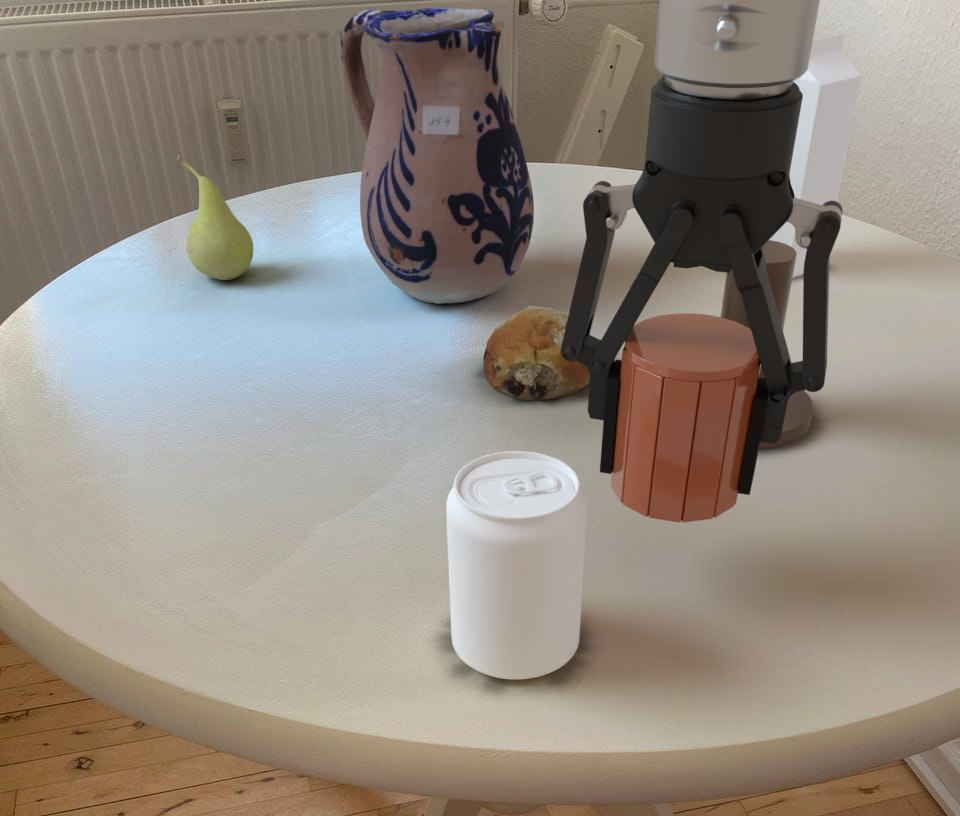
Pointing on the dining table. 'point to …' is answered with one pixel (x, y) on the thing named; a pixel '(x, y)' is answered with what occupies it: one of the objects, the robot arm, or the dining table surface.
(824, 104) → the milk
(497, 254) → the ceramic pitcher
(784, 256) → the towel holder
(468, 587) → the beverage can
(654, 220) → the robot arm
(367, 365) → the dining table surface
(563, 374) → the bread roll
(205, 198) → the fruit
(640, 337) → the ribbed orange cylinder
